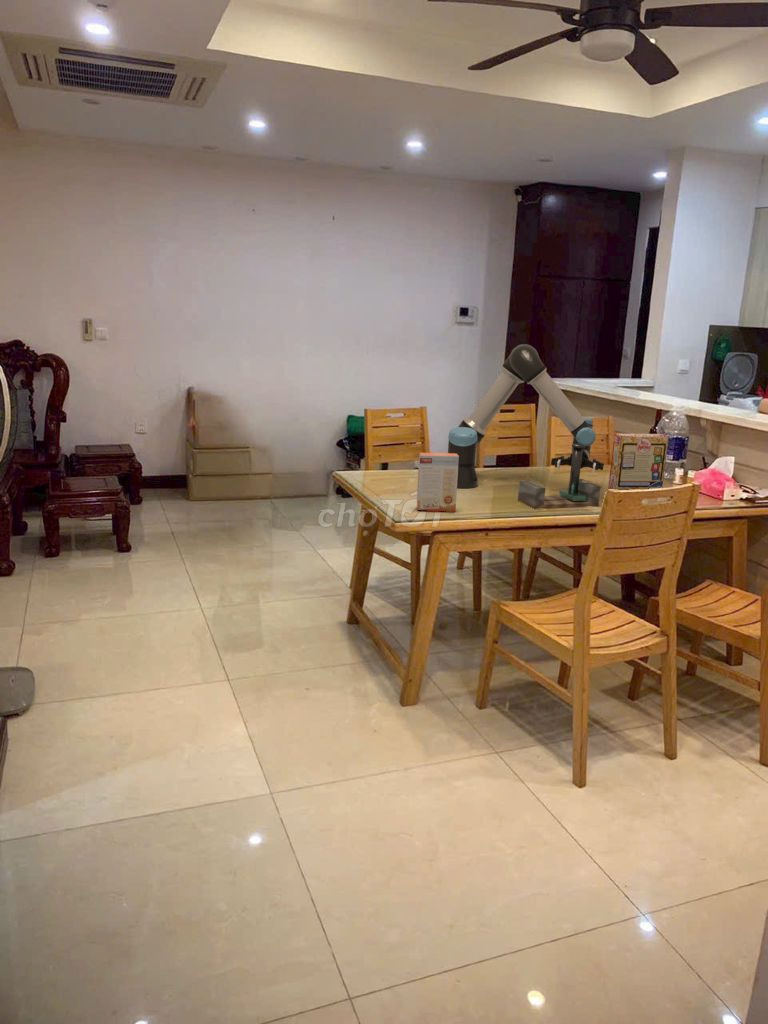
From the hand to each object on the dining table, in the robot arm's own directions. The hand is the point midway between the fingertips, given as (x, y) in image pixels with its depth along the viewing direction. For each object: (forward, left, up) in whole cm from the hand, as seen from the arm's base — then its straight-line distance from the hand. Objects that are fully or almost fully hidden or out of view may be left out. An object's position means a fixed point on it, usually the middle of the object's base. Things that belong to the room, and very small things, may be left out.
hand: (575, 467), depth 293 cm
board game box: (+28, -1, -14) cm, 31 cm away
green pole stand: (0, 0, -12) cm, 12 cm away
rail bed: (-6, 0, -14) cm, 15 cm away
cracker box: (-58, -2, -14) cm, 60 cm away
